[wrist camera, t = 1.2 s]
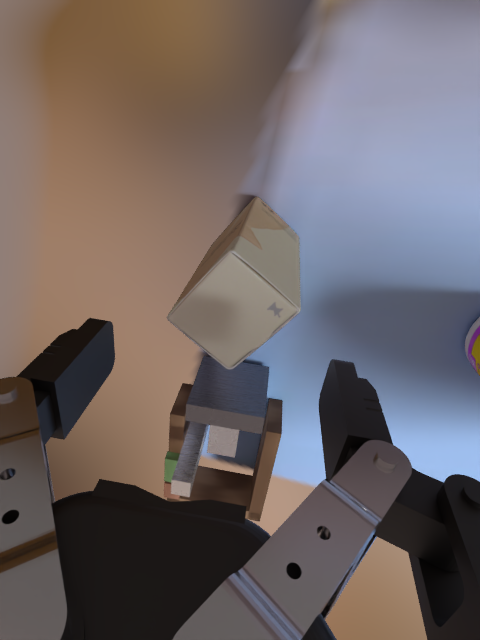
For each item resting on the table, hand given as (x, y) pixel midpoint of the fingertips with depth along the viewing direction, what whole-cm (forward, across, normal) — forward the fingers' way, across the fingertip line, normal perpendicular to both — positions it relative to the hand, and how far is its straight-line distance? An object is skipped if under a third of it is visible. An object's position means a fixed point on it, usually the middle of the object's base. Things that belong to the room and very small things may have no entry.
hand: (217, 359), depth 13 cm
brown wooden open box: (+15, 0, +20) cm, 25 cm away
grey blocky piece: (+14, 0, +14) cm, 20 cm away
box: (+15, 0, 0) cm, 15 cm away
